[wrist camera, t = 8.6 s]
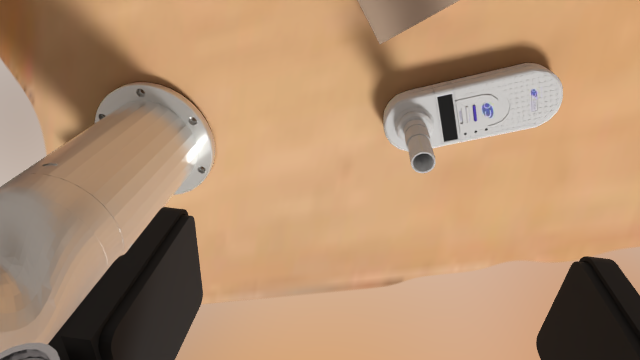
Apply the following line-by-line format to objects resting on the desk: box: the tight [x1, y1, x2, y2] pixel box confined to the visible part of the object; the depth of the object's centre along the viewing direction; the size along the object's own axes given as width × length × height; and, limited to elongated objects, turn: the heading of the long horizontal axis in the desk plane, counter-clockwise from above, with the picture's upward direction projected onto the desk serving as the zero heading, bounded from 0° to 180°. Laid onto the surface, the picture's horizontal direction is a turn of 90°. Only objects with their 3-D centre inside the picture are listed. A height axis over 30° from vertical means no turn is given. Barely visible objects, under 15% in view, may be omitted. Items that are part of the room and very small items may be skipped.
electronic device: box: [383, 63, 563, 173], centre depth 34 cm, size 5×10×15 cm
